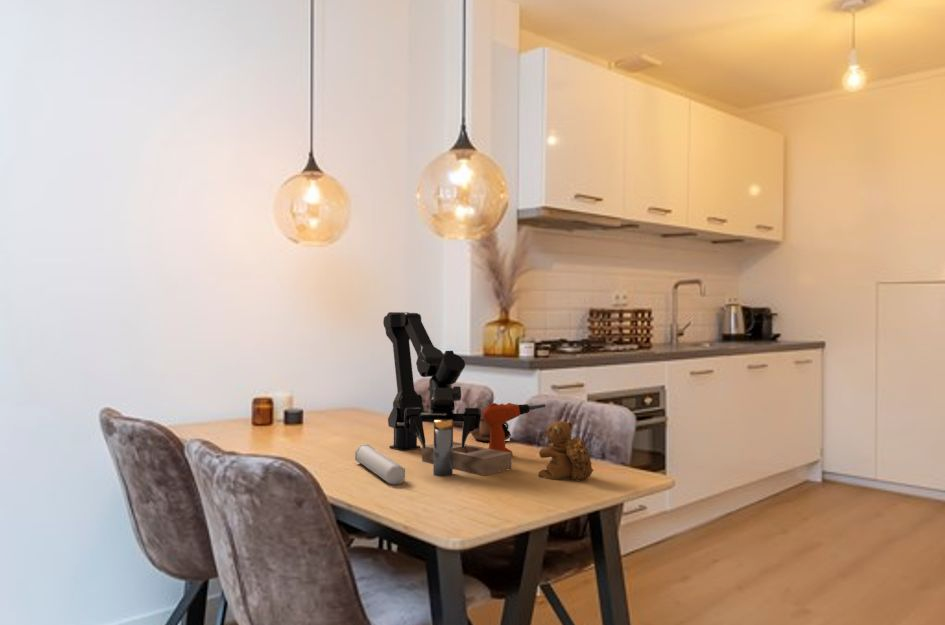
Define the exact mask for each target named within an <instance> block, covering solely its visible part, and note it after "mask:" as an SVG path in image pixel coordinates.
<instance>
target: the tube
mask: <svg viewBox="0 0 945 625" xmlns="http://www.w3.org/2000/svg"><path fill="white" fill-rule="evenodd" d="M354 461H356V462H358V463H359V464H360V465H362V466H364V467H366V468H367V469H368V470H370V471H371V472H373V473H374V474H375V475H377V476H378V477H380V478H381V479H382V480H384V481H385V482H387V483H388V484H390V485H391V486H394V485H401V484H402V483H403V481H404V479H405V478H406V468H404V466H402V465H400V464H399V463H397V462H396V461H394V460H393V459H391V458H389V457H388V456H386V455H385V454H383V453H381V452H379V451H378V450H376V448H374V447H372V446H371V445H370V444H369V443H367V444H360V445H359V446H358V447H357V448H356V450H355V452H354Z"/></svg>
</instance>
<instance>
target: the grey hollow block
mask: <svg viewBox="0 0 945 625" xmlns="http://www.w3.org/2000/svg"><path fill="white" fill-rule="evenodd" d="M461 443H462V442H457V441H453V469H454V470H459V471H462V472H466V471H467V473H471V474H474V475H475V474H476V475H478V476H479V475H480V476H484V475H485V476H488V474H489V475H493V474H497V473H500V472H499V471H501V472H504V471H503V470H505V471H508V470H507V469H510V470H512V458H513V454H512V453H513V452H512V453H509V452H504V451H499V450H493V449H488V448H489V447H484V446H483V447H482V446H478V445H477V446H476V445H473V444H468V443H465V445H464V448H462V445H461ZM421 447H422V448H421V462H424V463H428V464H432V465H434V443H431V444H425V448H423V446H422V445H421ZM496 472H497V473H496ZM492 473H493V474H492Z"/></svg>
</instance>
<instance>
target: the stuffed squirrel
mask: <svg viewBox="0 0 945 625" xmlns="http://www.w3.org/2000/svg"><path fill="white" fill-rule="evenodd" d="M573 425H574V423H573V422H572V421H568V422H566V421H563V420H561V421H560V420H557V421H555V422H551V424H549V425H548V426H547V428H546V430H545V431H544V434H543V436H542V438H543V440H546V437H547V439H548V440H549V441H551V442H550V443H548V444H547V447H542V448H541V449H540V450H539V452H538V453H539V457H540V458H542V459H546V458H551V459H550V461H549V463H548V464H547V465H546V466H545V468H546V469H545V468H544V469H541V470H539V471H538V474H537V475H538V477H539V476H541V477H540V478H543V477H546V478H545V479H548V478H550V480H568V478H569V479H570V480H571V479H572V480H571V481H576V480H580V481H581V480H582V481H583V479H584V480H587V479H588V478H590V477H591V475H592V473H593V472H594V469H593V468H592V464H593V463H592V462H591V457H590V455H589V454H590V453H589V450H588V449H587V447H586V444H585V443H584V439H582V438H578V437H576V438H575V437H573V438H572V436H571V429H572V427H573Z"/></svg>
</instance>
